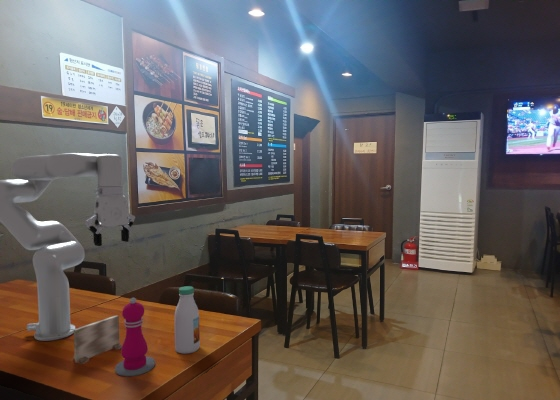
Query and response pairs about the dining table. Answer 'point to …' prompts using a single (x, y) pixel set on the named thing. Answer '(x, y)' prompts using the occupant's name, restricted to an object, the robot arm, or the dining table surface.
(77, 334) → the screen
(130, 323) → the pepper mill
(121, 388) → the dining table surface
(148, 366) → the coaster
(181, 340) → the milk bottle
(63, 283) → the robot arm
